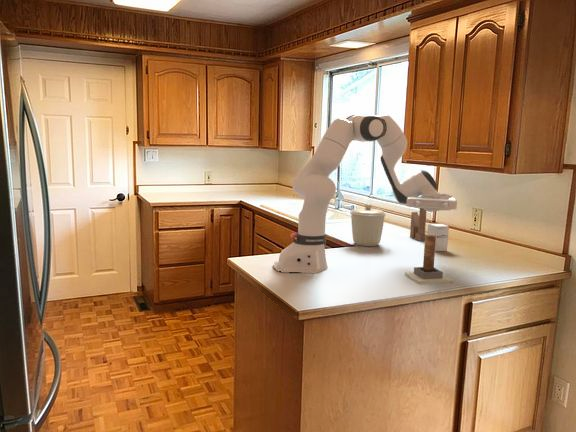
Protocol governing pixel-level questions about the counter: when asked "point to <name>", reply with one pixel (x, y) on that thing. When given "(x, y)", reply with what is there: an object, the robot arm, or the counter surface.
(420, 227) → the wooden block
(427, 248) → the walnut dowel
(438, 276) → the dowel holder
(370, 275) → the counter surface
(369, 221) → the canister
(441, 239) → the supplement box
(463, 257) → the counter surface
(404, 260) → the counter surface
